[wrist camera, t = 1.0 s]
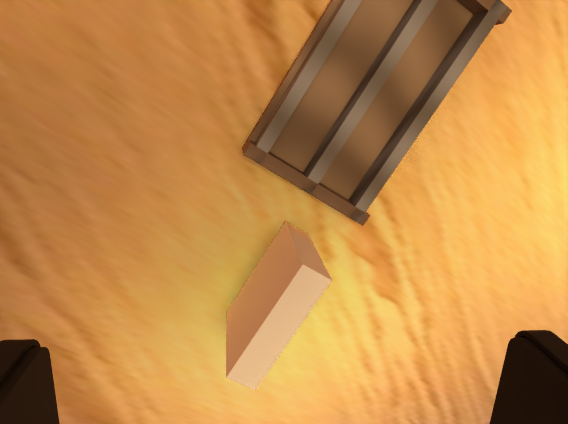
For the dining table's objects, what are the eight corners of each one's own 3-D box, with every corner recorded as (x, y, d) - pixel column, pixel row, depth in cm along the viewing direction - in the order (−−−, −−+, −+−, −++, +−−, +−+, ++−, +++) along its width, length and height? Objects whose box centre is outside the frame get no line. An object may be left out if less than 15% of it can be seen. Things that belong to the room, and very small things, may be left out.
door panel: (249, 322, 39) (255, 390, 31) (226, 311, 38) (226, 377, 30) (308, 233, 37) (332, 280, 29) (285, 221, 36) (302, 264, 28)
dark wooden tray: (352, 214, 37) (362, 225, 34) (242, 148, 34) (243, 154, 31) (488, 16, 33) (512, 10, 31) (377, -78, 30) (392, -94, 28)
